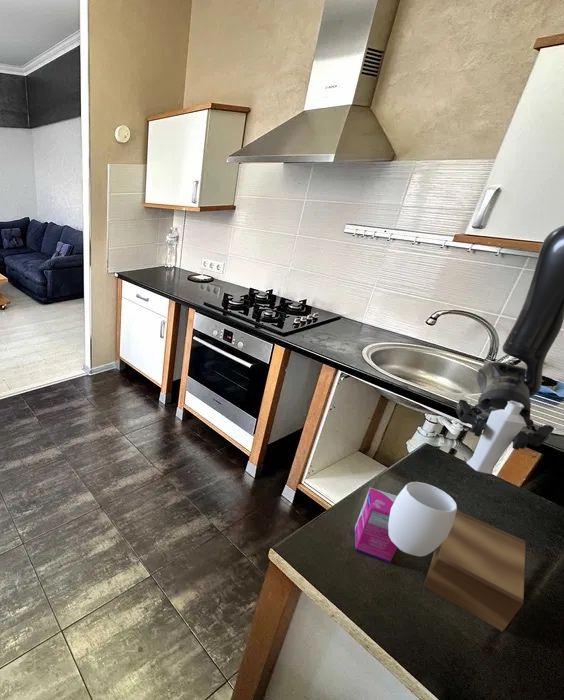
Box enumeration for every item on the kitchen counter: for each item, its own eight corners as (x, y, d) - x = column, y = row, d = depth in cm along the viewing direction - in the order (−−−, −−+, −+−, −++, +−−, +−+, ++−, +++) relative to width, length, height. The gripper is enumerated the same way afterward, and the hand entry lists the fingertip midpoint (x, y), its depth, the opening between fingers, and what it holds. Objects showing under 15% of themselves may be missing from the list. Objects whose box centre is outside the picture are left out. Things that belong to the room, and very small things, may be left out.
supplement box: (352, 528, 77) (369, 485, 72) (387, 541, 74) (407, 498, 69) (353, 550, 72) (371, 506, 67) (390, 565, 69) (412, 520, 65)
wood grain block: (438, 533, 76) (451, 508, 73) (507, 567, 69) (525, 541, 66) (423, 586, 66) (438, 558, 63) (502, 632, 59) (523, 604, 56)
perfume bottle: (485, 477, 72) (524, 413, 65) (460, 462, 76) (494, 399, 69) (502, 473, 73) (541, 409, 67) (476, 458, 77) (511, 396, 70)
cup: (360, 559, 70) (397, 473, 62) (408, 576, 67) (453, 488, 59) (365, 593, 64) (406, 503, 56) (417, 613, 61) (469, 522, 53)
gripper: (466, 377, 83) (455, 405, 72) (563, 402, 73) (567, 440, 63) (452, 405, 86) (440, 437, 75) (544, 434, 76) (545, 474, 66)
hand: (498, 438), depth 69 cm, fingers closed on perfume bottle, 4 cm apart
